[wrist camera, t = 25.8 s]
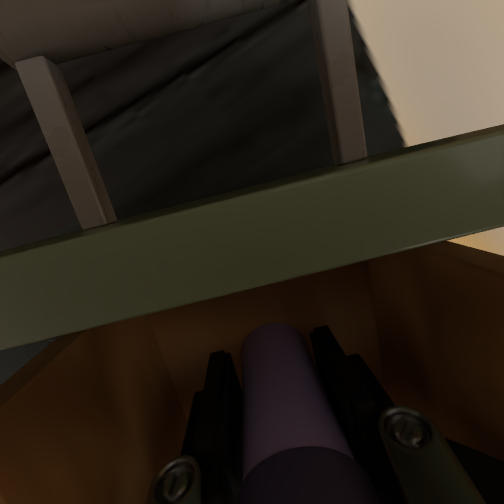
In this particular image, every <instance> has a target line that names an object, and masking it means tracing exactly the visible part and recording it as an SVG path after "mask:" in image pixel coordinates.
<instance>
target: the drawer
mask: <svg viewBox="0 0 504 504" xmlns="http://www.w3.org/2000/svg"><path fill="white" fill-rule="evenodd" d="M291 1H294V0H0V58H1V59H2V60H3V61H4V62H6V63H7V64H8V65H10V66H11V67H13V68H15V69H17V70H18V73H19V75H20V78H21V80H22V83H23V85H24V88H25V90H26V92H27V95H28V97H29V100H30V102H31V105H32V107H33V110H34V112H35V115H36V117H37V119H38V122H39V124H40V127H41V129H42V132H43V134H44V137H45V139H46V142H47V144H48V146H49V149H50V151H51V154H52V156H53V159H54V161H55V164H56V166H57V168H58V171H59V173H60V176H61V178H62V181H63V183H64V186H65V188H66V191H67V193H68V195H69V198H70V200H71V203H72V205H73V208H74V210H75V213H76V215H77V218H78V220H79V222H80V225H81V227H82V230H78V231H74V232H71V233H67V234H63V235H60V236H56V237H52V238H49V239H45V240H41V241H37V242H34V243H30V244H26V245H23V246H19V247H15V248H12V249H8V250H4V251H1V252H0V351H1V350H5V349H9V348H13V347H17V346H21V345H25V344H29V343H33V342H37V341H41V340H45V339H49V338H54V337H58V336H60V337H58V338H57V339H56V340H55V341H53V342H52V343H51V344H50V345H49V346H47V347H46V348H45V349H44V350H43V351H41V352H40V353H39V354H38V355H37V356H35V357H34V358H33V359H32V360H31V361H29V362H28V363H27V364H26V365H25V366H23V367H22V368H21V369H20V370H18V371H17V372H16V373H15V374H14V375H12V376H11V377H10V378H9V379H8V380H6V381H5V382H4V383H3V384H2V385H0V504H146V501H147V496H148V491H149V488H150V485H151V482H152V480H153V478H154V477H155V475H156V473H157V472H158V471H159V470H160V469H161V467H162V466H163V465H165V464H166V463H167V462H168V461H170V460H171V459H173V458H176V457H178V456H180V454H181V449H182V445H183V441H184V436H185V432H186V428H187V423H188V419H189V414H190V410H191V406H192V401H193V397H194V394H195V392H197V391H201V390H203V389H204V383H205V378H206V373H207V367H208V362H209V357H210V353H213V352H217V351H221V350H224V351H225V353H228V352H229V353H230V354H231V357H232V361H233V364H234V367H235V370H236V374H237V377H238V380H239V383H240V387H241V390H242V348H243V344H244V342H245V340H246V338H247V337H248V336H249V334H250V333H251V332H252V331H254V330H255V329H256V328H258V327H260V326H262V325H265V324H268V323H283V324H287V325H290V326H292V327H294V328H295V329H297V330H298V331H299V332H300V333H301V334H302V336H303V337H304V339H305V341H306V344H307V346H308V348H309V351H310V353H311V356H312V358H313V360H314V363H315V365H316V361H315V356H314V352H313V347H312V343H311V338H310V333H311V332H314V328H316V327H320V326H324V325H328V327H329V328H330V330H331V332H332V333H333V335H334V337H335V338H336V340H337V341H338V343H339V345H340V346H341V348H342V350H343V351H344V353H345V354H346V356H348V355H352V354H356V353H358V354H359V355H360V356H361V357H362V359H363V360H364V361H365V363H366V364H367V366H368V367H369V369H370V370H371V371H372V373H373V374H374V376H375V377H376V379H377V380H378V381H379V383H380V384H381V386H382V387H383V389H384V390H385V391H386V393H387V394H388V396H389V397H390V399H391V400H392V401H393V403H394V404H395V406H408V407H412V408H415V409H417V410H419V411H421V412H423V413H424V414H426V415H427V416H428V417H430V419H431V420H432V421H433V422H434V423H435V424H436V426H437V428H438V429H439V431H440V432H441V434H442V435H443V437H444V438H447V439H449V440H452V441H454V442H457V443H460V444H462V445H465V446H467V447H470V448H472V449H475V450H477V451H480V452H482V453H485V454H487V455H490V456H492V457H495V458H497V459H500V460H502V461H504V256H501V255H498V254H494V253H490V252H487V251H483V250H479V249H475V248H472V247H468V246H464V245H460V244H456V243H453V242H449V241H447V240H451V239H454V238H459V237H463V236H467V235H470V234H475V233H479V232H483V231H487V230H491V229H495V228H499V227H503V226H504V124H503V125H499V126H495V127H490V128H486V129H482V130H477V131H473V132H469V133H465V134H460V135H456V136H452V137H448V138H443V139H439V140H435V141H431V142H427V143H422V144H418V145H414V146H409V147H405V148H401V149H397V150H392V151H388V152H384V153H380V154H376V155H372V156H368V157H367V149H366V142H365V134H364V127H363V119H362V112H361V104H360V97H359V89H358V82H357V74H356V67H355V59H354V51H353V44H352V36H351V29H350V21H349V14H348V6H347V0H308V7H309V14H310V20H311V26H312V32H313V38H314V44H315V50H316V57H317V63H318V69H319V75H320V81H321V87H322V93H323V100H324V106H325V112H326V118H327V124H328V130H329V136H330V143H331V149H332V155H333V161H334V165H332V166H328V167H325V168H321V169H317V170H313V171H309V172H305V173H301V174H297V175H293V176H289V177H285V178H281V179H277V180H273V181H270V182H266V183H262V184H258V185H254V186H250V187H246V188H242V189H238V190H234V191H230V192H226V193H222V194H218V195H215V196H211V197H207V198H203V199H199V200H195V201H191V202H187V203H183V204H179V205H175V206H171V207H167V208H163V209H160V210H156V211H152V212H148V213H144V214H140V215H136V216H132V217H128V218H124V219H120V220H117V218H116V215H115V212H114V210H113V207H112V204H111V202H110V199H109V196H108V194H107V191H106V188H105V185H104V183H103V180H102V177H101V175H100V172H99V169H98V167H97V164H96V161H95V159H94V156H93V153H92V151H91V148H90V145H89V142H88V140H87V137H86V134H85V132H84V129H83V126H82V124H81V121H80V118H79V116H78V113H77V110H76V108H75V105H74V102H73V99H72V97H71V94H70V91H69V89H68V86H67V83H66V81H65V78H64V75H63V73H62V70H61V68H60V67H59V66H58V65H56V64H59V63H63V62H67V61H71V60H74V59H78V58H82V57H85V56H89V55H93V54H97V53H100V52H104V51H108V50H112V49H115V48H119V47H123V46H126V45H130V44H134V43H138V42H141V41H145V40H149V39H153V38H156V37H160V36H164V35H168V34H171V33H175V32H179V31H182V30H186V29H190V28H194V27H197V26H201V25H205V24H209V23H212V22H216V21H220V20H224V19H227V18H231V17H235V16H238V15H242V14H246V13H250V12H253V11H257V10H261V9H265V8H268V7H272V6H276V5H279V4H283V3H287V2H291ZM316 368H317V365H316Z"/></svg>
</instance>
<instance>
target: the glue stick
mask: <svg viewBox="0 0 504 504" xmlns="http://www.w3.org/2000/svg"><path fill="white" fill-rule="evenodd" d="M242 462H243V482H242V484H241V487H240V489H239V492H238V495H237V501H236V504H381V503H380V501H379V499H378V496H377V494H376V492H375V490H374V487H373V485H372V483H371V481H370V478H369V476H368V474H367V473H366V471H365V470H364V469H363V468H362V467H361V466H360V464H359V463H358V462H357V461H355V459H354V457H353V454H352V452H351V449H350V447H349V445H348V442H347V440H346V437H345V435H344V433H343V430H342V428H341V425H340V423H339V421H338V418H337V416H336V413H335V411H334V409H333V406H332V404H331V401H330V399H329V396H328V394H327V392H326V389H325V387H324V384H323V382H322V380H321V377H320V375H319V372H318V370H317V368H316V365H315V363H314V360H313V358H312V356H311V353H310V351H309V348H308V346H307V344H306V341H305V339H304V337H303V336H302V334H301V333H300V332H299V331H298V330H297V329H295V328H294V327H292V326H290V325H287V324H283V323H268V324H265V325H262V326H260V327H258V328H256V329H255V330H254V331H252V332H251V333H250V334H249V336H248V337H247V338H246V340H245V342H244V344H243V348H242Z"/></svg>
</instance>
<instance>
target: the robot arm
mask: <svg viewBox="0 0 504 504" xmlns="http://www.w3.org/2000/svg"><path fill="white" fill-rule="evenodd" d="M310 338H311V343H312V347H313V352H314V356H315V361H316V365H317V370H318V372H319V375H320V377H321V380H322V382H323V384H324V387H325V389H326V392H327V394H328V396H329V399H330V401H331V404H332V406H333V409H334V411H335V413H336V416H337V418H338V421H339V423H340V425H341V428H342V430H343V433H344V435H345V437H346V440H347V442H348V445H349V447H350V449H351V452H352V454H353V457H354V459H355V461H357V462H358V463H359V464H360V466H361V467H362V468H363V469H364V470H365V471H366V473H367V474H368V476H369V478H370V481H371V483H372V485H373V487H374V490H375V492H376V494H377V496H378V499H379V501H380V503H381V504H504V461H502V460H500V459H497V458H495V457H492V456H490V455H487V454H485V453H482V452H480V451H477V450H475V449H472V448H470V447H467V446H465V445H462V444H460V443H457V442H454V441H452V440H449V439H447V438H444V437H443V435H442V434H441V432H440V431H439V429H438V428H437V426H436V424H435V423H434V422H433V421H432V420H431V419H430V417H428V416H427V415H426V414H424V413H423V412H421V411H419V410H417V409H415V408H412V407H408V406H395V404H394V403H393V401H392V400H391V399H390V397H389V396H388V394H387V393H386V391H385V390H384V389H383V387H382V386H381V384H380V383H379V381H378V380H377V379H376V377H375V376H374V374H373V373H372V371H371V370H370V369H369V367H368V366H367V364H366V363H365V361H364V360H363V359H362V357H361V356H360V355H359V354H358V353H356V354H352V355H348V356H346V354H345V353H344V351H343V350H342V348H341V346H340V345H339V343H338V341H337V340H336V338H335V337H334V335H333V333H332V332H331V330H330V328H329V327H328V325H324V326H320V327H316V328H314V332H311V333H310ZM242 482H243V462H242V390H241V387H240V383H239V380H238V377H237V374H236V370H235V367H234V364H233V361H232V357H231V354H230V353H229V352H228V353H225V351H224V350H221V351H217V352H213V353H210V357H209V362H208V367H207V373H206V378H205V383H204V389H203V390H201V391H197V392H195V394H194V397H193V401H192V406H191V410H190V414H189V419H188V423H187V428H186V432H185V436H184V441H183V445H182V449H181V454H180V456H178V457H176V458H173V459H171V460H170V461H168V462H167V463H166V464H165V465H163V466H162V467H161V469H160V470H159V471H158V472H157V473H156V475H155V477H154V478H153V480H152V482H151V485H150V488H149V491H148V496H147V501H146V504H236V501H237V495H238V492H239V489H240V487H241V484H242Z"/></svg>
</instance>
